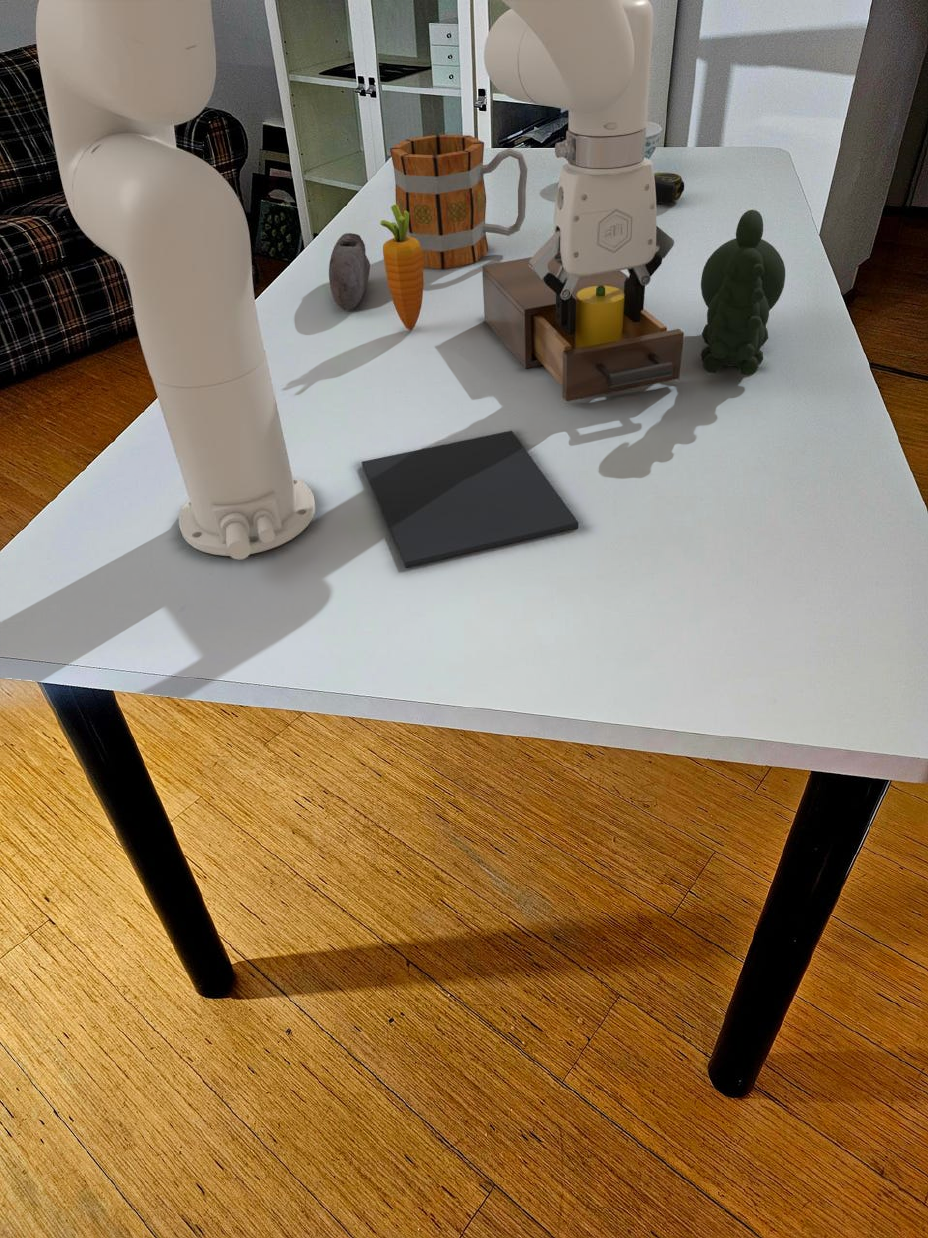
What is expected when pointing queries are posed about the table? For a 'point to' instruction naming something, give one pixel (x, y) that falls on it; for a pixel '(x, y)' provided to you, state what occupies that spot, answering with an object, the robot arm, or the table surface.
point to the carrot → (404, 269)
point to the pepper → (599, 315)
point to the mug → (449, 196)
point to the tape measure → (668, 187)
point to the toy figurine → (740, 297)
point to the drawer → (607, 356)
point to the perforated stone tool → (348, 271)
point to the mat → (465, 498)
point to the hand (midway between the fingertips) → (599, 322)
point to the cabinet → (526, 301)
